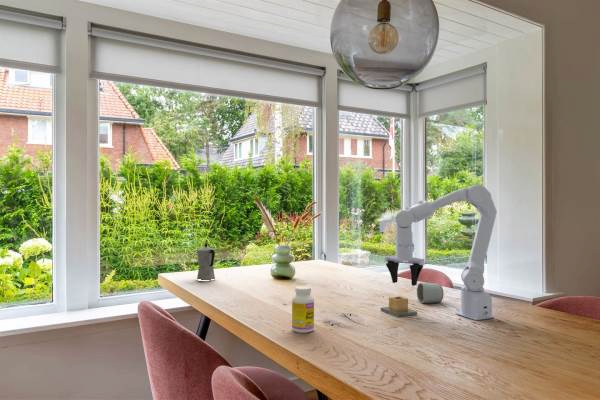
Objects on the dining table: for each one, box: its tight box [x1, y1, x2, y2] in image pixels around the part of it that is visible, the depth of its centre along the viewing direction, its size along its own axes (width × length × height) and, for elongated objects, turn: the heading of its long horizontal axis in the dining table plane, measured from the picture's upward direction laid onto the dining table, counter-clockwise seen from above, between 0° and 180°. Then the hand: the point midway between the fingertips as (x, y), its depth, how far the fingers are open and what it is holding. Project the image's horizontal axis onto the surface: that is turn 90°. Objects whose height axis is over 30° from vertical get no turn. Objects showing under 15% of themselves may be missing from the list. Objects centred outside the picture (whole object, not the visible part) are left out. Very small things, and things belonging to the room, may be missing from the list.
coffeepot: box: [196, 243, 216, 280], centre depth 219 cm, size 15×9×18 cm, turn 37°
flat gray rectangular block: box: [380, 306, 418, 318], centre depth 156 cm, size 10×8×4 cm
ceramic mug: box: [416, 282, 445, 304], centre depth 173 cm, size 11×8×8 cm
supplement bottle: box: [291, 285, 315, 334], centre depth 135 cm, size 7×7×13 cm
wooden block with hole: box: [388, 296, 409, 312], centre depth 156 cm, size 5×5×4 cm
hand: (404, 283), depth 157 cm, fingers open, 7 cm apart
